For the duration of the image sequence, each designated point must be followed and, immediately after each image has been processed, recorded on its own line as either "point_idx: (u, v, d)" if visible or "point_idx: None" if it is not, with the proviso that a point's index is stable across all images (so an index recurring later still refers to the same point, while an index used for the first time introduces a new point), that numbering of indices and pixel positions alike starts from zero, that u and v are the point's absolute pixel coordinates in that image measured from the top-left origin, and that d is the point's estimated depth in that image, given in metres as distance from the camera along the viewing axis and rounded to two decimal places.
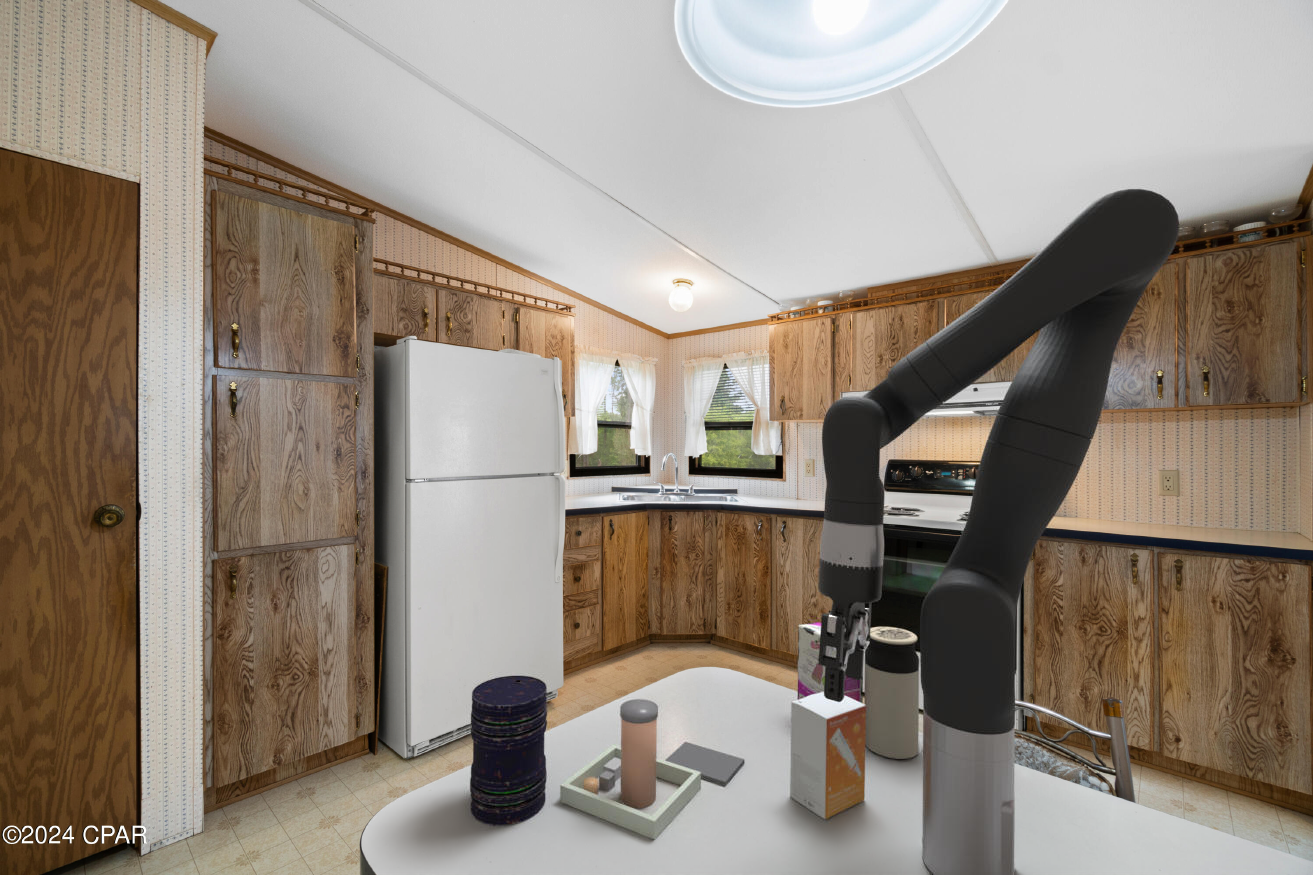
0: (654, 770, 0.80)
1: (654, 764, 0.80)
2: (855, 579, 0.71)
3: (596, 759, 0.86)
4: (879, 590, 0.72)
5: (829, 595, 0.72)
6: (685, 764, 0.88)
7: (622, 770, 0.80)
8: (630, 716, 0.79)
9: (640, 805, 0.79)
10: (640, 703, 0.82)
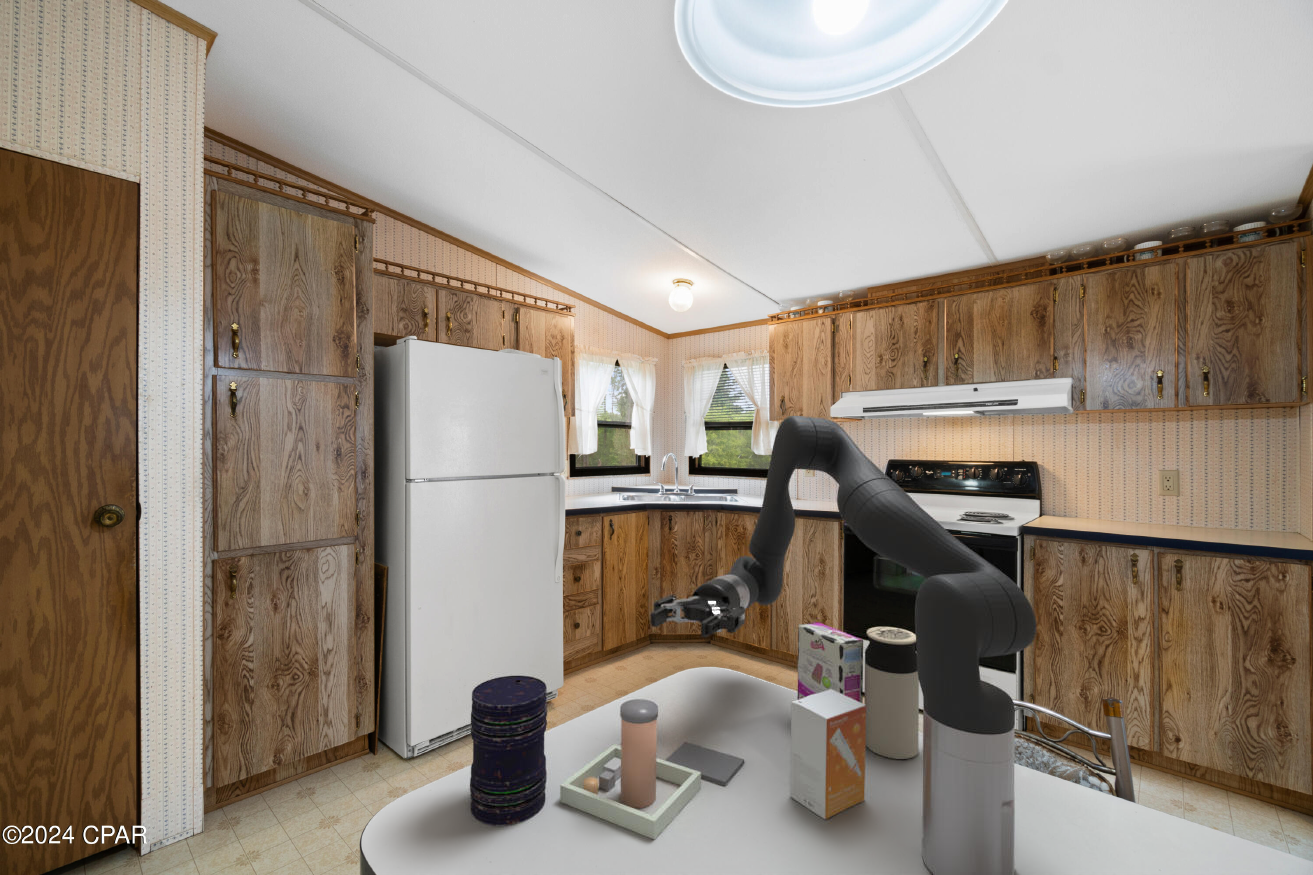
0: (654, 770, 0.80)
1: (654, 764, 0.80)
2: None
3: (596, 759, 0.86)
4: (710, 582, 1.02)
5: None
6: (685, 764, 0.88)
7: (622, 770, 0.80)
8: (630, 716, 0.79)
9: (640, 805, 0.79)
10: (640, 703, 0.82)
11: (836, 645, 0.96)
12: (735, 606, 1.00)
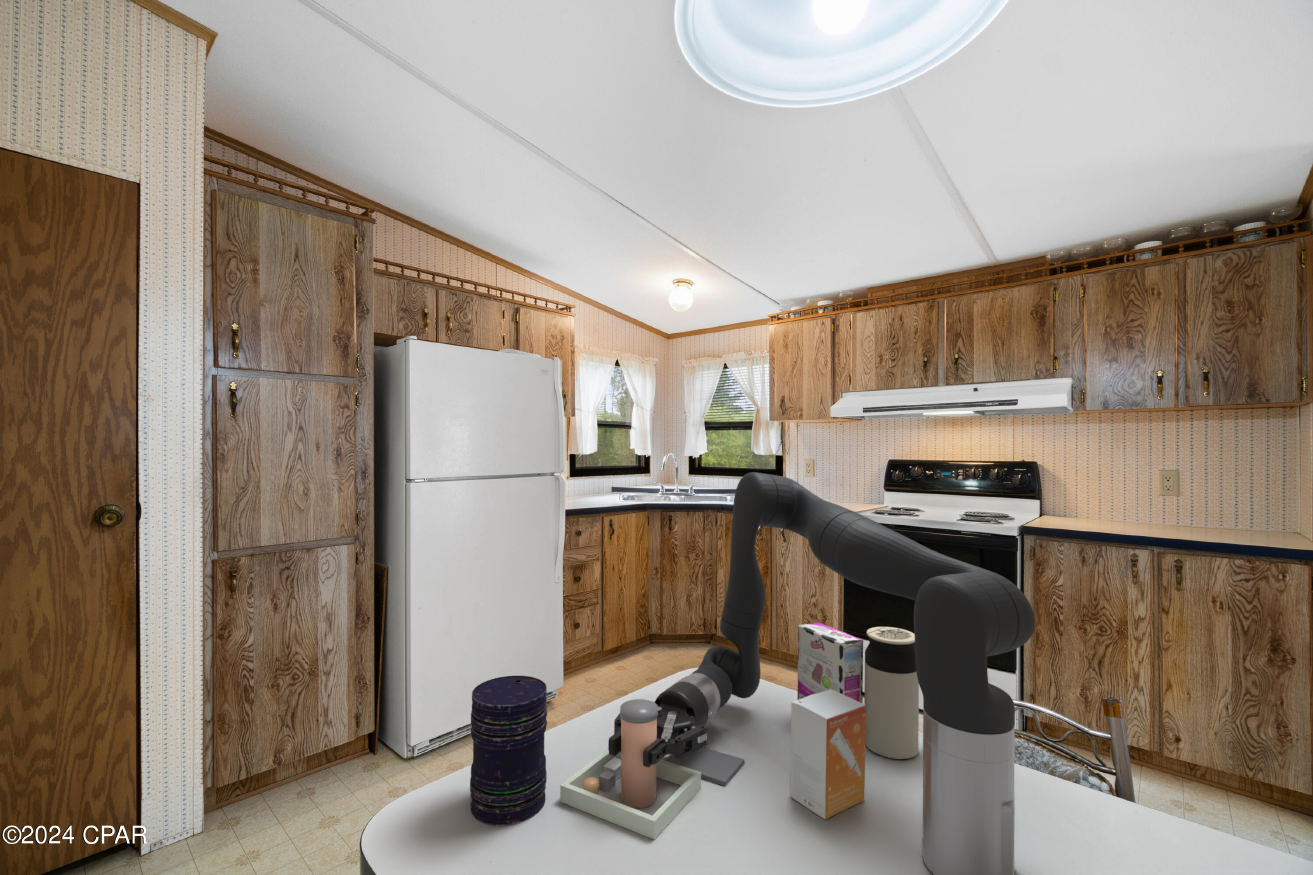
0: (654, 770, 0.80)
1: (654, 764, 0.80)
2: None
3: (596, 759, 0.86)
4: (675, 688, 0.91)
5: None
6: (685, 764, 0.88)
7: (622, 770, 0.80)
8: (630, 716, 0.79)
9: (640, 805, 0.79)
10: (640, 703, 0.82)
11: (836, 645, 0.96)
12: (702, 717, 0.89)
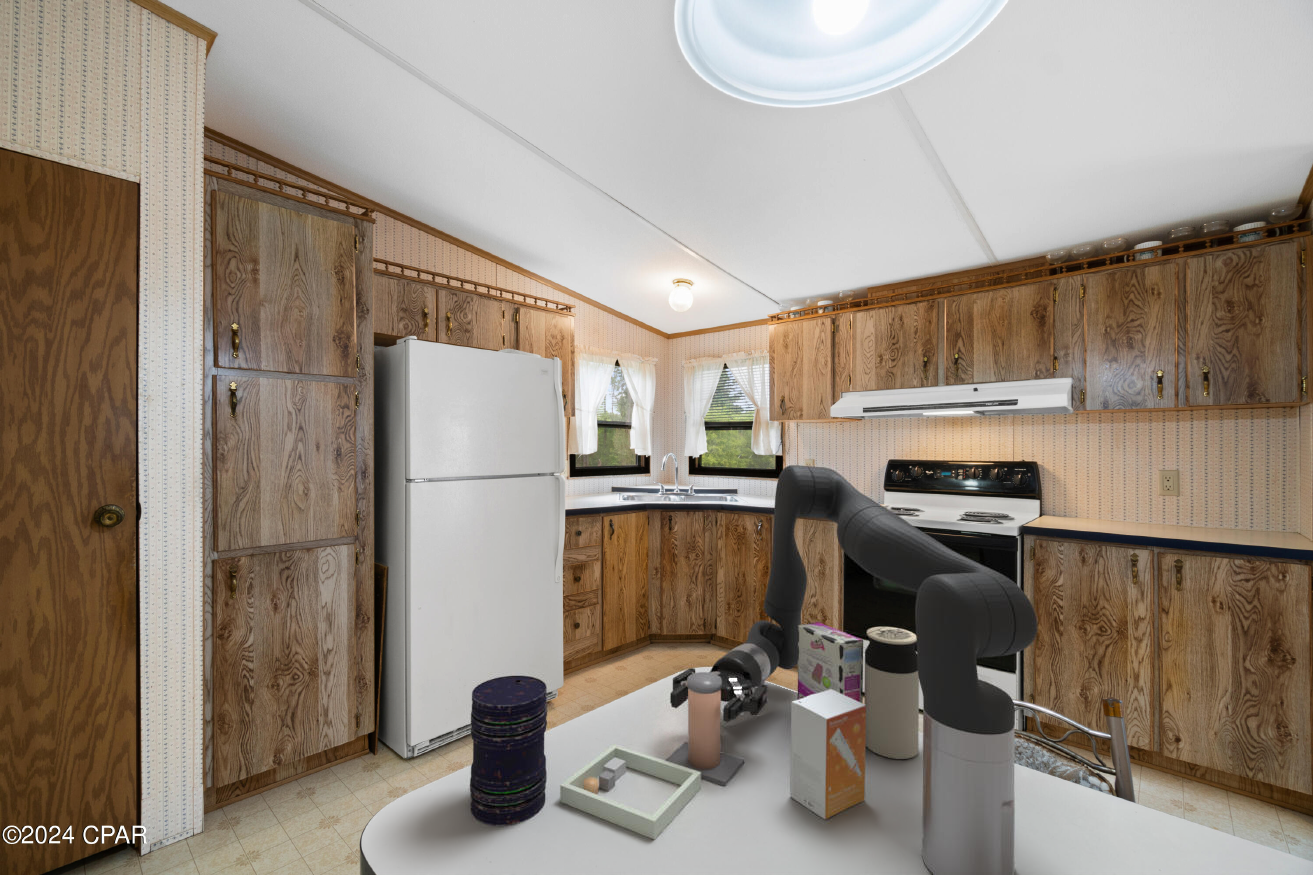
0: (719, 735, 0.88)
1: (719, 730, 0.88)
2: None
3: (596, 759, 0.86)
4: (731, 655, 0.99)
5: None
6: (685, 764, 0.88)
7: (690, 735, 0.88)
8: (698, 687, 0.87)
9: (707, 766, 0.87)
10: (704, 676, 0.90)
11: (836, 645, 0.96)
12: (756, 681, 0.97)
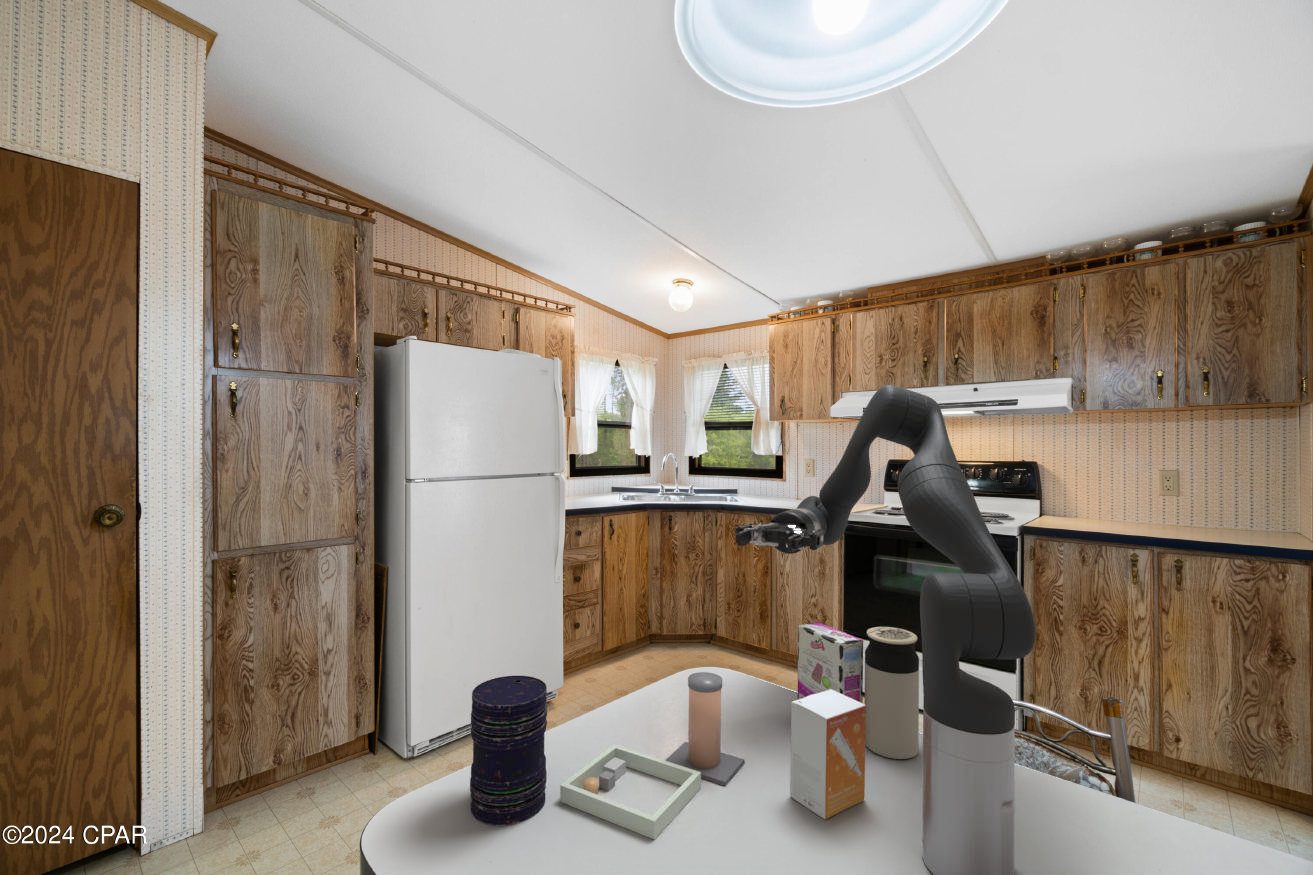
0: (719, 735, 0.88)
1: (719, 730, 0.88)
2: None
3: (596, 759, 0.86)
4: (786, 511, 1.08)
5: None
6: (685, 764, 0.88)
7: (690, 735, 0.88)
8: (699, 686, 0.87)
9: (707, 766, 0.87)
10: (705, 675, 0.91)
11: (836, 645, 0.96)
12: (811, 533, 1.06)
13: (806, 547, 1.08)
